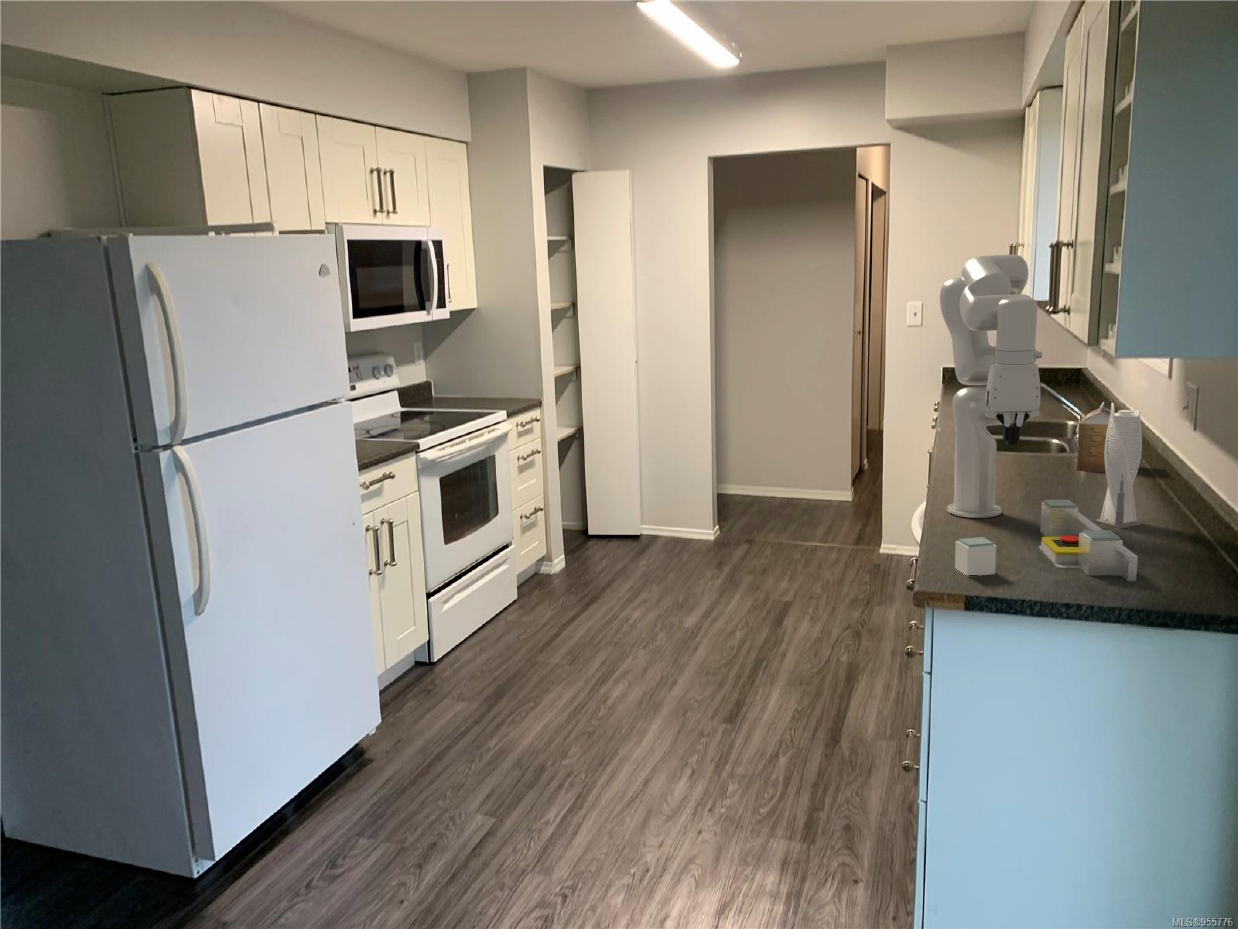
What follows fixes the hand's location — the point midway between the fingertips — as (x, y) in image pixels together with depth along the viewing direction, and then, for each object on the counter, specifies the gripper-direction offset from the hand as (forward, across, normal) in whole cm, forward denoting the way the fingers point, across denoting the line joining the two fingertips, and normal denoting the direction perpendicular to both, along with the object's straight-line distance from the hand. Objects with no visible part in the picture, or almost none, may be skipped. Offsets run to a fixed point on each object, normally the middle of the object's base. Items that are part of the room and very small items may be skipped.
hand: (1010, 443), depth 192 cm
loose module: (+23, +10, +16) cm, 30 cm away
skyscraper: (+24, -30, -20) cm, 43 cm away
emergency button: (+24, -11, +7) cm, 27 cm away
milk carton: (+26, -46, -79) cm, 95 cm away
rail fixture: (+23, -14, +3) cm, 28 cm away
